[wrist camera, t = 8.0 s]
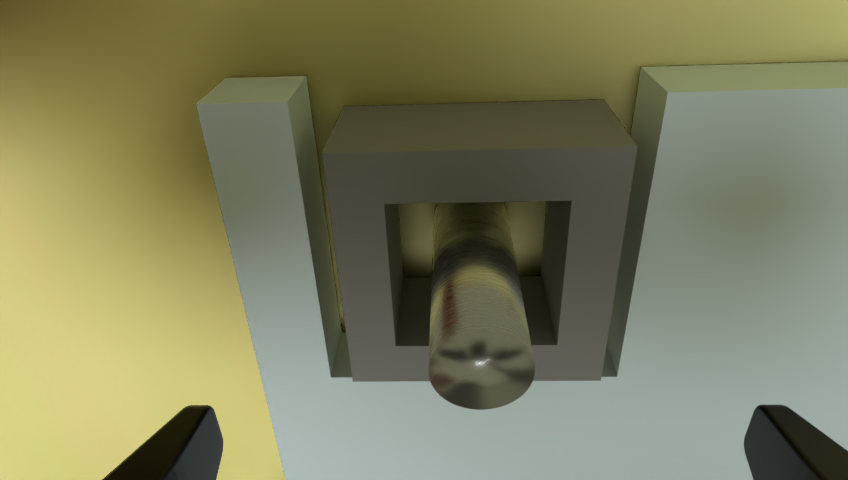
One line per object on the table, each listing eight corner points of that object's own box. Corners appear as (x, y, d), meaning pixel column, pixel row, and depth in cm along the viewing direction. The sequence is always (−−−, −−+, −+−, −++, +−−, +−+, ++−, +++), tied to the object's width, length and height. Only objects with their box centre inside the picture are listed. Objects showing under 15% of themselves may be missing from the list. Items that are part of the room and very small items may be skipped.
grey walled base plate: (1085, 54, 14) (1380, 134, 9) (851, 498, 22) (949, 648, 18) (225, 77, 14) (131, 159, 10) (312, 494, 23) (280, 636, 18)
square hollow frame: (603, 99, 14) (637, 146, 12) (578, 308, 18) (600, 380, 15) (343, 106, 15) (321, 153, 12) (366, 310, 18) (352, 381, 15)
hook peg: (508, 183, 16) (538, 330, 11) (505, 248, 17) (532, 409, 12) (433, 185, 16) (426, 330, 11) (434, 249, 17) (430, 409, 12)
